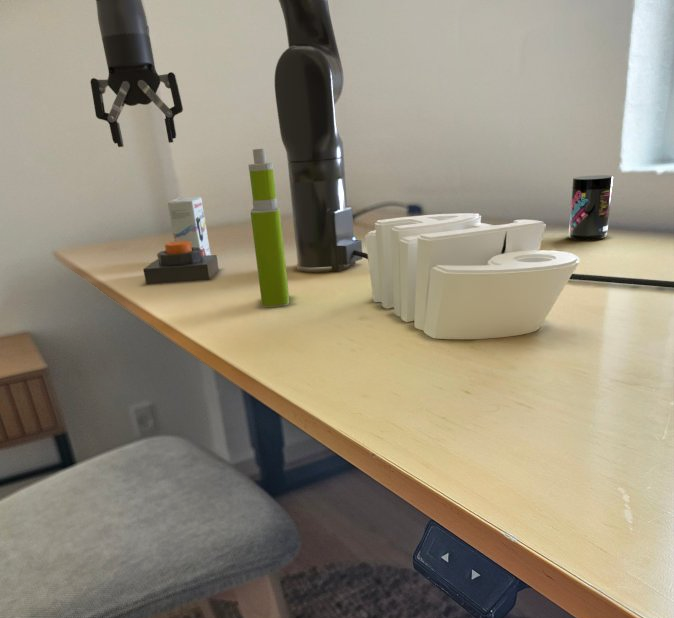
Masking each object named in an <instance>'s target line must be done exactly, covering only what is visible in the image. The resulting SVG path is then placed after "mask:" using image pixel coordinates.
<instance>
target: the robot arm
mask: <svg viewBox="0 0 674 618" xmlns="http://www.w3.org/2000/svg"><path fill="white" fill-rule="evenodd" d="M278 3H279V5H280V9H281V11H282V16H283V19H284V25H285V30H286V36H287V44H288V48H286V49H285V50H284V51H283V52H282V53H281V55H280V56H279V58H278V60H277V62H276V66H275V69H274V96H275V104H276V109H277V111H276V112H277V120H278V125H279V126H278V127H279V132H280V138H281V141H282V144H283V147H284V149H285V152H286V159H287V161H286V162H287V169H288V179H289V190H290V198H291V199H290V200H291V201H290V202H291V210H292V211H291V213H292V219H293V231H294V241H295V242H294V243H295V251H296V252H295V253H296V261H297V263H296V266H297V270H298V271H300V272H305V273H325V272H339V271H342V270H344V269H347V268H349V267H351V266H354V265H356V262H357V261H360V260H363V259H366V260H368V253H367V252H363V241H362V239H356V237H355V234H354V217H353V215H354V214H353V208H352V207H351V206H348V203H347V201H348V200H347V199H348V198H347V186H346V184H347V183H346V169H345V167H346V166H345V153H344V141H343V140H342V137H341V136H340V133H339V131H338V127H337V122H336V113H335V112H336V109H335V106H336V104H337V103H338V101H339V100H340V98H341V95H342V93H343V88H344V83H345V79H344V70H343V65H342V61H341V56H340V53H339V48H338V44H337V40H336V35H335V31H334V27H333V22H332V18H331V13H330V7H329V1H328V0H278ZM95 5H96V15H97V21H98V27H99V31H100V37H101V41H102V46H103V51H104V57H105V62H106V65H107V71H108V77H107V79H105V78H104V79H103V78H102V79H99V78H98V79H97V78H95V77H93V78H91V79H90V87H91V88H90V89H91V93H92V100H93V105H94V112H95V117H96V118H97V119H98V120H102V121H105V122H106V123H108V125H109V128H110V134H111V139H112V141H113V143H114V144H117V147H118V148H123V147H124V140H123V135H122V130H121V125H120V122H118V120H119V117H120V115H121V113H122V111H123V110H124V107H125V105H127V106H128V107H134V106H137V105H142V106H144V105H145V106H146V105H150V104H151V103H153V104H154V105H155V106H156V108H158V109H159V110H160V111H161V113H162V114H163V115H164V116H165V118H164V123H165V124H164V125H165V128H166V129H165V130H166V134H167V135H166V136H167V141H168V143H169V144H170V143H174V140H175V139H176V138H177V131H176V126H175V125H176V124H175V120H174V119H175V117H176V116H177V115H179V114H182V112H183V111H184V107H183V103H182V98H181V93H180V89H179V84H178V80H177V76H176V75H175V73H174V72H172V71H170V72H168V73H164V74H158V72H157V70H156V65H155V60H154V54H153V48H152V42H151V36H150V28H149V25H148V19H147V16H146V12H145V9H144V5H143V1H142V0H95ZM161 83H163V84H164V86H165V88H167V89H169V90H170V93H171V97H172V101H173V106H172V107H169V106H168V105H167V104H166V103H165V102H164V101H163V100H162V99H161V97H160V96H159V95H158V94H157V92H158V89H159V87H160V85H161ZM107 88H110V89H111V91H112V92H113V93H114V94H115V95H116V96H115V98H114V101H113V103H112V106H111V109H110V111H109V112H106V110H105V104H104V103H105V102H104V96H103V95H104V94H106V92H107ZM569 280H572V281H586V282H597V283H609V284H610V283H611V284H623V285H634V286H645V287H646V286H647V287H658V288H659V287H660V288H670V289H671V288H672V289H674V280H673V281H672V280H661V279H649V278H648V279H646V278H635V277H624V276H623V277H622V276H621V277H620V276H609V275H597V274H584V273H583V274H582V273H572V275H571V277H570V278H569Z"/></svg>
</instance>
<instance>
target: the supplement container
mask: <svg viewBox="0 0 674 618" xmlns="http://www.w3.org/2000/svg"><path fill="white" fill-rule="evenodd" d="M613 181H614V175H606V174H605V175H604V174H602V175H601V174H600V175H599V174H597V175H582V176H575V177H573V178H572V187H571V189H572V190H571V202H570V213H569V214H570V215H569V227H568V237H569V238H570V239H571V240H574V241H582V242H583V241H585V242H587V241H588V242H589V241H599V240H603V239H605V238H606V237H607V234H608V230H609V229H608V228H609V219H610V209H611V202H612V201H611V200H612V190H613V183H614V182H613Z"/></svg>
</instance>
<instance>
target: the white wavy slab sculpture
mask: <svg viewBox="0 0 674 618" xmlns="http://www.w3.org/2000/svg"><path fill="white" fill-rule="evenodd" d="M546 227H547V224H546V223H544V221H542V220H537V219H514V220H513V222H510V223H503V224H496V225H494V224H489V223H484V222H482V215H480V213H470V212H469V213H467V212H466V213H465V212H464V213H463V212H462V213H438V214H425V215H424V214H423V215H413V216H401V217H394V218H385V219H379V220H376V222H374V230H371V231H369V232H367V234H365V235H364V238H365V244H366V245H365V246H366V254H368V259H367V260H368V261H367V262H368V268H369V276H370V284H371V291H372V298H373V299H372V300H373V303H381V307H382V308H384V309H388V310H389V309H393V314H394V315H395V316H396V317H399V318H400V319H401V320H402V321H403V322H405V323H410V322H414V325H413V326H414V328H415V329H417V330H420V331H423V333H424V334H425V335H426V336H428V337H430V338H432V339H437V340H485V339H498V338H508V337H516V336H522V335H523V336H524V335H527V334H531V333H534V332H536V331H538V330H539V329H541V327H542V326H543V324H544V322H545V320H546V318H547V317H548V315H549V313H550V312H551V310H552V308H553V307H554V305H555V304H556V302H557V300H558V298H559V297H560V295H561V293H562V292H563V291H564V288H565V287H566V285H567V283H568V281H569V280H570V279H569V278H570V277H571V275H572V274H574V272H575V270H576V269H577V267H578V265H579V263H580V261H581V259H580V258H579V257H578V256H577V255H576V254H575V253H571V252H567V251H562V250H561V251H560V250H546V249H545V250H544V249H543V250H541V249H540V246H541V243H542V240H543V237H544V233H545V231H546Z"/></svg>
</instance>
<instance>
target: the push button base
mask: <svg viewBox="0 0 674 618" xmlns="http://www.w3.org/2000/svg"><path fill="white" fill-rule="evenodd" d="M156 256H157V259H155V260H154V261H152V262H151V263H149V265H147V266H145V267H144V268H143V275H144V280H145V285H161V284H175V283H187V282H201V281H202V282H203V281H210V280H211V279H212V278H213V277H214V276H215V274H217V272H218V271H219V270H220V268H219V262H218V255H217V254H211V255H208V256H202V252H201V249H200V248H197V247H192V251H190V252H185V253H178V254H166V249H165V250H161V251H159V252H158V253H156Z"/></svg>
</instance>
